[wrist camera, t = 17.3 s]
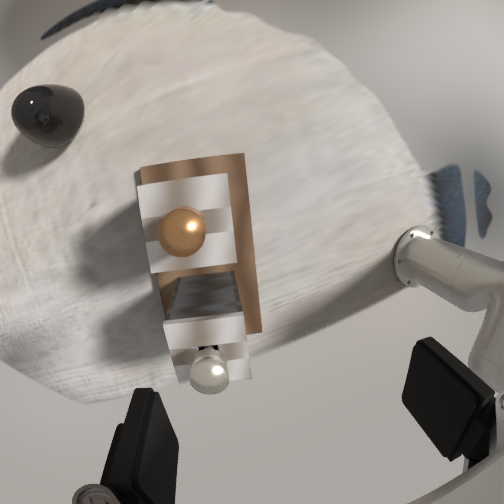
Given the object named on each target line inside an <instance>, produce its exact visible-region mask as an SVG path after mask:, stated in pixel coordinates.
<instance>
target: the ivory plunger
mask: <svg viewBox="0 0 504 504" xmlns="http://www.w3.org/2000/svg"><path fill="white" fill-rule="evenodd" d="M190 383H191V385H192V387H193V388H194V389H195V390H197V391H198V392H201V393H203V394H217V393H220V392H221V391H223V390H224V389H226V387H227V386H228V383H229V374H228V363H227V359H226V357H225V356H224V355H223V354H222V353H221V352H219V351H217V350H214V345H210V346H204V349H203V350H200V351H198V352H197V353H195V354H194V356H193V357H192V360H191V369H190Z"/></svg>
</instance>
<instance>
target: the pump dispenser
mask: <svg viewBox="0 0 504 504" xmlns="http://www.w3.org/2000/svg"><path fill="white" fill-rule="evenodd" d="M11 116H12V120H13V122H14V125H15V126H16V128H17V129H18V130H19V131H20V132H21V133H22V134H23V135H24V136H25V137H26V138H28V139H29V140H31V141H32V142H34V143H36V144H38V145H40V146H43V147H46V148H58V147H61V146H63V145H65V144H66V143H68V142H69V141H70V140H72V139H73V138H74V137H75V136H76V135H77V134H78V132H79V131H80V129H81V127H82V125H83V122H84V117H85V108H84V103H83V99H82V97H81V96H80V94H79V93H78V92H77V91H75V90H74V89H72V88H70V87H66V86H62V85H55V84H44V85H37V86H33V87H30V88H28V89H26V90H24V91H23V92H21V93H20V94H19V95H18V96H17V97H16V99H15V101H14V103H13V105H12V109H11Z"/></svg>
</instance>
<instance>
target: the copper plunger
mask: <svg viewBox="0 0 504 504" xmlns="http://www.w3.org/2000/svg"><path fill="white" fill-rule="evenodd" d="M205 235H206V221H205V219H204V217H203V215H202V214H201V213H200V212H199V211H198V210H197V209H195V208H193V207H189V206H180V207H177V208H175V209H173V210H172V211H170V212H169V213H168V214H167V215H165V216H164V217H163V219H162V220H161V222H160V224H159V227H158V240H159V243H160V245H161V246H162V248H163V249H164V250H165V251H166V252H167V253H169V254H170V255H172V256H175V257H188V256H191V255H193V254H195V253H196V252H197V251H199V249H200V248H201V247H202V245H203V243H204V240H205Z"/></svg>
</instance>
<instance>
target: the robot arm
mask: <svg viewBox="0 0 504 504" xmlns="http://www.w3.org/2000/svg"><path fill="white" fill-rule="evenodd" d="M394 268H395V272H396V275H397V277H398V279H399V280H400V281H401V282H402V283H403V284H405V285H406V286H409V287H419V286H424V287H425V288H427V289H429V290H430V291H432V292H434V293H435V294H437V295H439V296H440V297H442V298H444V299H445V300H447V301H448V302H450V303H452V304H453V305H455V306H457V307H458V308H460V309H462V310H464V311H467V312H478V311H481V310H484V309H487V311H486V314H485V317H484V320H483V323H482V326H481V328H480V330H479V333H478V335H477V338H476V340H475V342H474V345H473V347H472V350H471V352H470V355H469V359H468V366H469V368H468V367H467V366H466V365H465V364H463V363H462V362H461V361H460V360H459V359H457V358H456V357H455V356H454V355H453V354H452V353H450V352H449V351H448V350H447V349H446V348H445V347H443V346H442V345H441V344H440V343H439V342H437V341H436V340H435V339H434V338H432V337H427V338H424V339H421V340H419V341H417V343H416V345H415V346H414V347H413V350H412V355H411V360H410V365H409V369H408V373H407V378H406V382H405V386H404V389H403V393H402V402H403V404H404V405H405V407H406V408H407V409H408V410H409V412H410V413H411V414H412V416H413V417H414V418H415V420H416V421H417V422H418V424H419V425H420V426H421V428H422V429H423V430H424V432H425V433H426V434H427V436H428V437H429V438H430V440H431V441H432V442H433V444H434V445H435V446H436V448H437V449H438V450H439V452H440V453H441V454H442V456H444V457H447V458H448V459H449V461H450V462H451V461H453V460H454V459H456V458H458V457H459V456H461V454H463V455H464V457H465V459H464V467H463V473H462V474H461V475H459V476H457V477H456V478H454V479H453V480H451V481H449V482H448V483H446V484H444V485H442V486H441V487H439V488H437V489H435V490H434V491H432V492H430V493H428V494H426V495H424V496H422V497H421V498H418V499H416V500H414V501H412V502H410V503H408V504H504V261H500V260H497V259H494V258H491V257H488V256H485V255H483V254H480V253H477V252H474V251H472V250H469V249H466V248H463V247H461V246H458V245H455V244H452V243H450V242H447V241H444V240H441V239H440V238H439V236H438V234H437V233H436V232H435V231H434V230H433V229H432V228H430V227H427V226H416V227H413V228H412V229H410V230H409V231H407V232H406V233H405V234H404V236H403V237H402V238H401V240H400V242H399V244H398V246H397V249H396V252H395V256H394ZM494 390H495V391H496V392H498V393H499V395H498V396H497V397H496V398H495V397H494V394H495V391H494ZM178 452H179V444H178V439H177V437H176V435H175V432H174V430H173V428H172V425H171V423H170V420H169V418H168V415H167V413H166V410H165V408H164V406H163V403H162V400H161V397H160V395H159V393H158V392H154V391H153V389H152V388H136V389H135V390H134V393H133V396H132V399H131V402H130V405H129V409H128V412H127V415H126V418H125V421H124V423H120V424H119V425H118V426H117V428H116V431H115V434H114V437H113V440H112V443H111V447H110V450H109V453H108V457H107V460H106V463H105V467H104V470H103V474H102V478H101V481H100V485H99V484H88V485H84V486H82V487H81V488H79V489H78V490H77V491H76V492H75V494H74V496H73V498H72V504H175V492H176V477H177V463H178Z"/></svg>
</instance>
